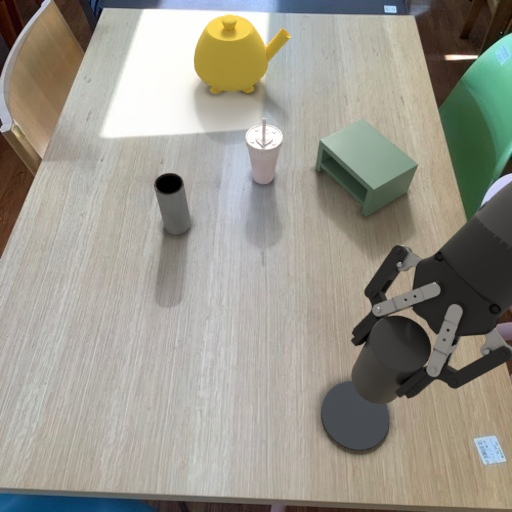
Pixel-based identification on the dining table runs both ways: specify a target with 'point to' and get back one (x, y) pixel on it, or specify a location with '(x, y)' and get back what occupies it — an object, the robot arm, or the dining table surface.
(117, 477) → the dining table surface
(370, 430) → the coaster
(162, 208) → the planter
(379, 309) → the robot arm
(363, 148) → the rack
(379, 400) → the dark grey cylinder
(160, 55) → the dining table surface
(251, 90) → the teapot
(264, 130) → the smoothie
